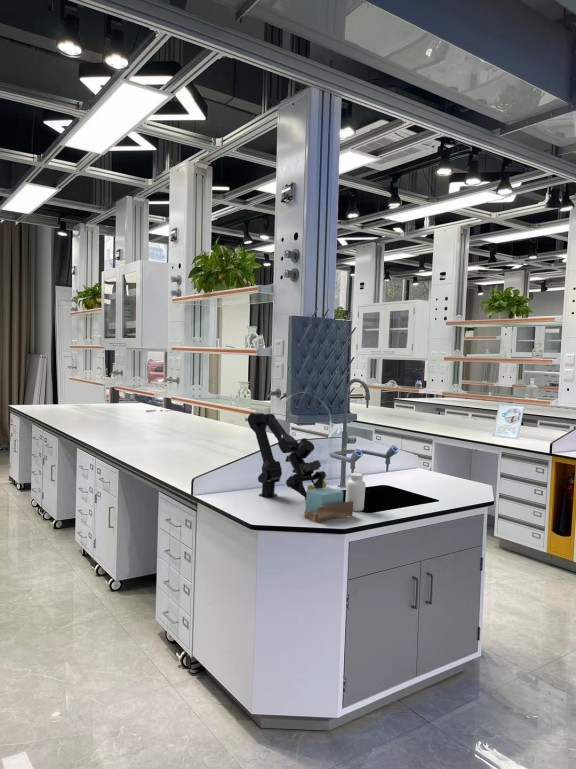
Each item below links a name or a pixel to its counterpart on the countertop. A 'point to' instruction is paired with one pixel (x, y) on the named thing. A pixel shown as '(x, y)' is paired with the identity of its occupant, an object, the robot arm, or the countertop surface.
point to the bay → (330, 512)
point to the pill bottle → (356, 491)
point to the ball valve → (315, 488)
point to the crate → (322, 498)
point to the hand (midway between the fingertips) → (315, 496)
